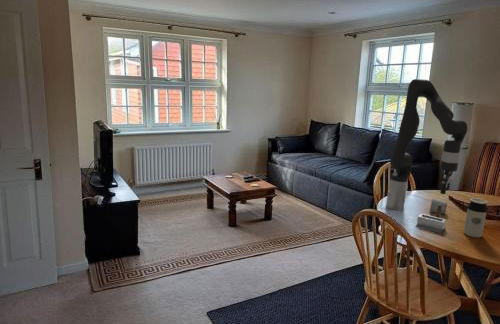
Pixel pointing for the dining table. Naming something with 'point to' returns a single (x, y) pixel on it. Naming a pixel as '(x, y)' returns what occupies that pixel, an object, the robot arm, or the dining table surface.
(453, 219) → the dining table surface
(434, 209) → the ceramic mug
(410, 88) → the robot arm
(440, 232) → the mat
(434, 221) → the white slotted block
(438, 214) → the post
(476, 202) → the travel mug
